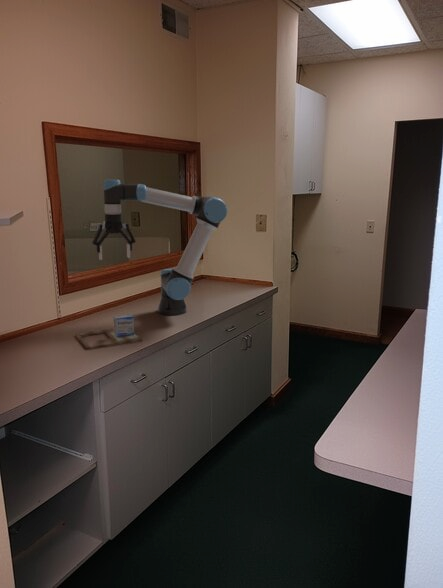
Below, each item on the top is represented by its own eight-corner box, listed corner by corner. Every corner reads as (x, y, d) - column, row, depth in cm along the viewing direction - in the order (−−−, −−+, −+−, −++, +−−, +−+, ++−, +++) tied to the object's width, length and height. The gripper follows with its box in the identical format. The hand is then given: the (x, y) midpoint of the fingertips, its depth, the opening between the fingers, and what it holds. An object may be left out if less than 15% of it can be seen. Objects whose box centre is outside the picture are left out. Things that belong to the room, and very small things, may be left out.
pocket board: (127, 328, 221) (127, 326, 221) (142, 340, 204) (142, 338, 204) (75, 335, 209) (75, 333, 209) (86, 349, 193) (86, 347, 192)
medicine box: (116, 337, 204) (116, 318, 202) (114, 334, 208) (113, 315, 206) (134, 335, 208) (133, 316, 206) (131, 332, 212) (130, 313, 210)
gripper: (135, 212, 228) (137, 255, 232) (84, 213, 216) (86, 259, 220) (141, 213, 221) (142, 257, 226) (88, 214, 209) (90, 261, 214)
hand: (114, 258), depth 223 cm, fingers open, 13 cm apart
